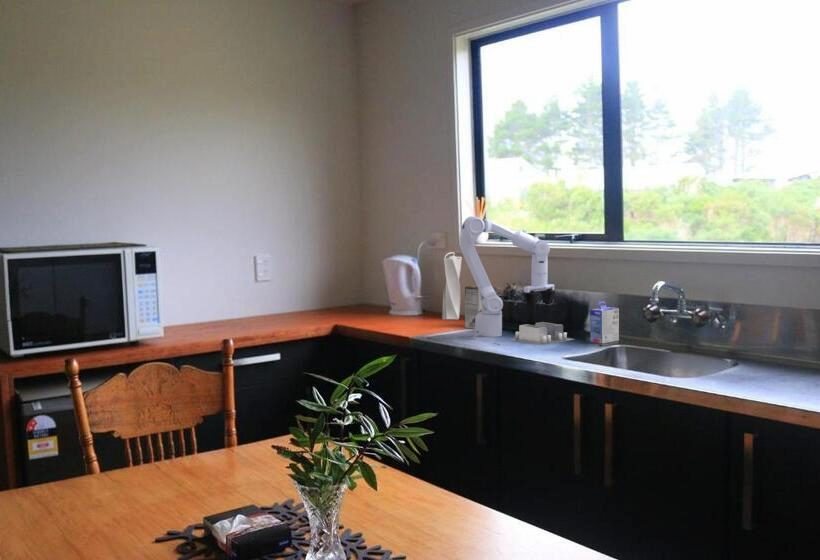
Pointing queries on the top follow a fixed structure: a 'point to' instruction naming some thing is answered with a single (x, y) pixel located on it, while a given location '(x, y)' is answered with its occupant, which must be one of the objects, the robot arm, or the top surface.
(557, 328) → the seated drive
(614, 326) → the ink cartridge box
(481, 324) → the robot arm
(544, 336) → the tray
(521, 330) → the grey rectangular block
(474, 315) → the coffee box
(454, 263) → the skyscraper
